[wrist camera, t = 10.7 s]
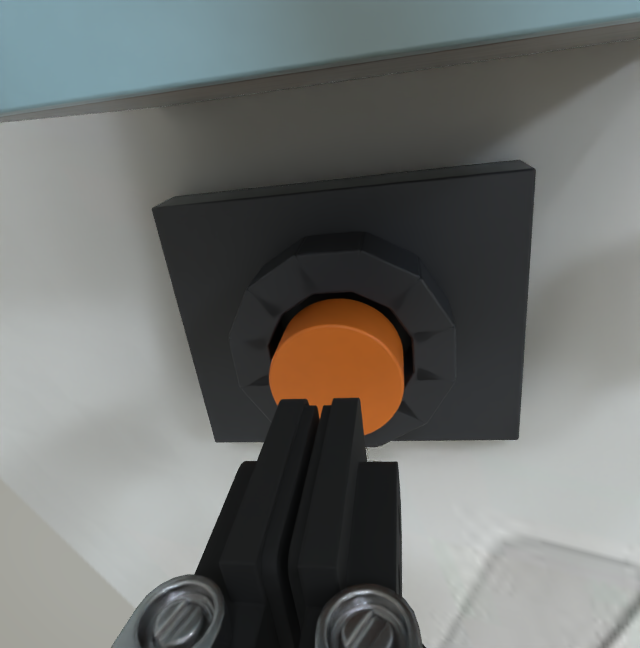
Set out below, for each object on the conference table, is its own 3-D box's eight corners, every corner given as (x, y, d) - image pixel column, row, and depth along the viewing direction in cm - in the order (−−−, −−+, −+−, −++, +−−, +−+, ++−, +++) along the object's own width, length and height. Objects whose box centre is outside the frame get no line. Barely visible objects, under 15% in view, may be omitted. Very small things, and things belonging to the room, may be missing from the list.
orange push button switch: (228, 416, 20) (197, 477, 17) (173, 196, 16) (119, 223, 13) (508, 410, 18) (532, 479, 15) (521, 159, 14) (557, 179, 11)
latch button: (291, 404, 15) (279, 441, 14) (272, 301, 14) (257, 328, 12) (405, 402, 15) (407, 439, 13) (399, 293, 13) (400, 321, 12)
